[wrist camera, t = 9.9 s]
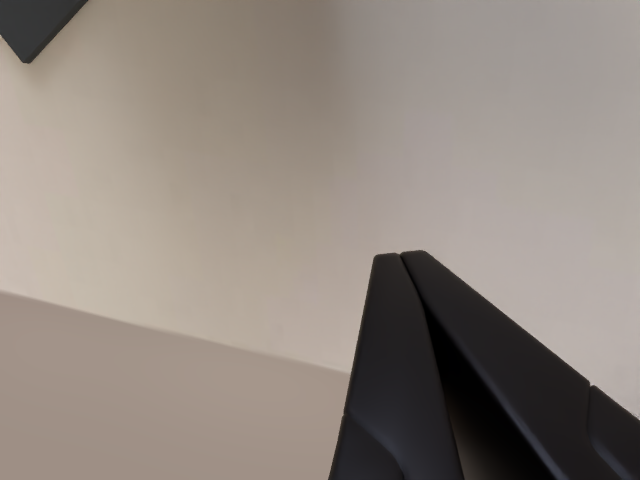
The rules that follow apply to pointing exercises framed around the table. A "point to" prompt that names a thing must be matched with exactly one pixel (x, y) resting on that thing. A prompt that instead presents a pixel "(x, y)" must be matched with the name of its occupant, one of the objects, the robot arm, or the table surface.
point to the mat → (34, 23)
